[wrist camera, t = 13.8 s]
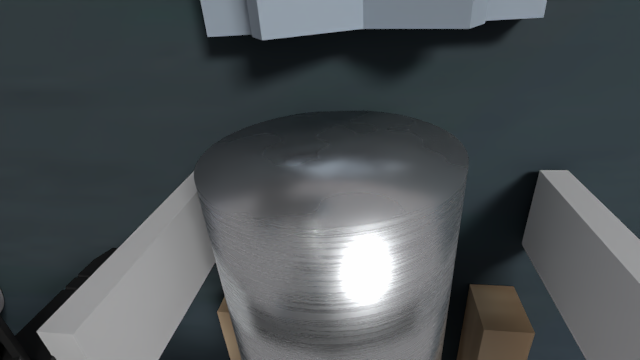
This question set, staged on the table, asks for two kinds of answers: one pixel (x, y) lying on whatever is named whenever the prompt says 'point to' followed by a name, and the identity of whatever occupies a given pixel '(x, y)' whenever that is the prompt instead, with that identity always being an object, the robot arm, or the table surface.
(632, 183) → the table surface
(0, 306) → the cup
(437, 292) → the grey metal cylinder
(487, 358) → the wooden flat frame
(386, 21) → the v block
